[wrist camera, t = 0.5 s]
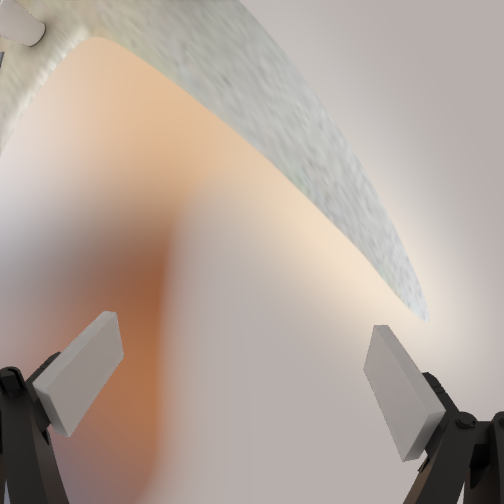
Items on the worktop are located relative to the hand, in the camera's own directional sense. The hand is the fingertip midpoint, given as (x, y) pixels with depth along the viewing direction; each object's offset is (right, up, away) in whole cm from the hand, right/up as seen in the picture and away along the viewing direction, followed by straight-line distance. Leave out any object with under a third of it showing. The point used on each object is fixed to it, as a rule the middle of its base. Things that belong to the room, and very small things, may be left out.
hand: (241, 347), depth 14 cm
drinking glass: (-41, +46, +20) cm, 64 cm away
